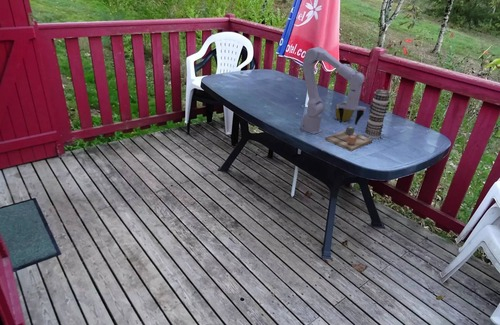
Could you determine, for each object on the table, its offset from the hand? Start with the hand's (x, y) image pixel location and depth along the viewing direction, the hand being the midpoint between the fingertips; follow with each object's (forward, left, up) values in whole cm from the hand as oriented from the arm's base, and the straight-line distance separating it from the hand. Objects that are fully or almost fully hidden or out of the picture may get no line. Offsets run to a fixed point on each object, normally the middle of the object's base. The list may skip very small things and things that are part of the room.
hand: (348, 123), depth 185 cm
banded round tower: (+5, +19, -10) cm, 22 cm away
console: (+2, 0, -9) cm, 10 cm away
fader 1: (-1, +5, -7) cm, 9 cm away
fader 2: (+7, -5, -7) cm, 11 cm away
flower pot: (-19, +25, -10) cm, 33 cm away
